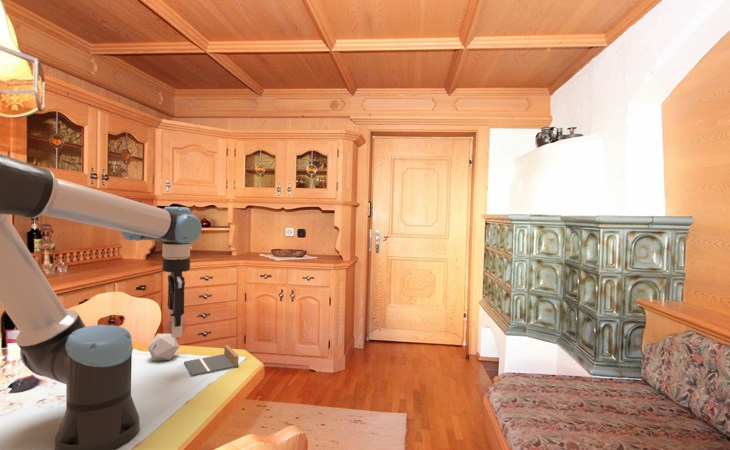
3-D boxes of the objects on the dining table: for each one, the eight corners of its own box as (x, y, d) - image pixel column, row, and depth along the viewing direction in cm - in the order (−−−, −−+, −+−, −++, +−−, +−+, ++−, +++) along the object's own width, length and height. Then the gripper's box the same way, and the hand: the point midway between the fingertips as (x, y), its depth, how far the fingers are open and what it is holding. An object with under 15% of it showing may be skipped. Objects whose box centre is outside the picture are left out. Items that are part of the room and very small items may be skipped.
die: (147, 358, 129) (139, 341, 123) (170, 339, 135) (163, 322, 129) (163, 371, 126) (156, 354, 120) (186, 351, 132) (180, 334, 126)
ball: (166, 339, 111) (166, 318, 111) (163, 333, 116) (163, 313, 116) (188, 335, 114) (188, 315, 114) (184, 330, 119) (185, 311, 119)
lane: (191, 376, 114) (191, 364, 114) (184, 363, 124) (184, 352, 124) (238, 367, 122) (238, 356, 122) (227, 355, 132) (227, 344, 132)
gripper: (196, 260, 109) (194, 340, 109) (184, 254, 124) (182, 324, 125) (167, 262, 104) (165, 344, 105) (158, 255, 120) (157, 327, 120)
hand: (175, 333), depth 115 cm, fingers closed on ball, 6 cm apart
